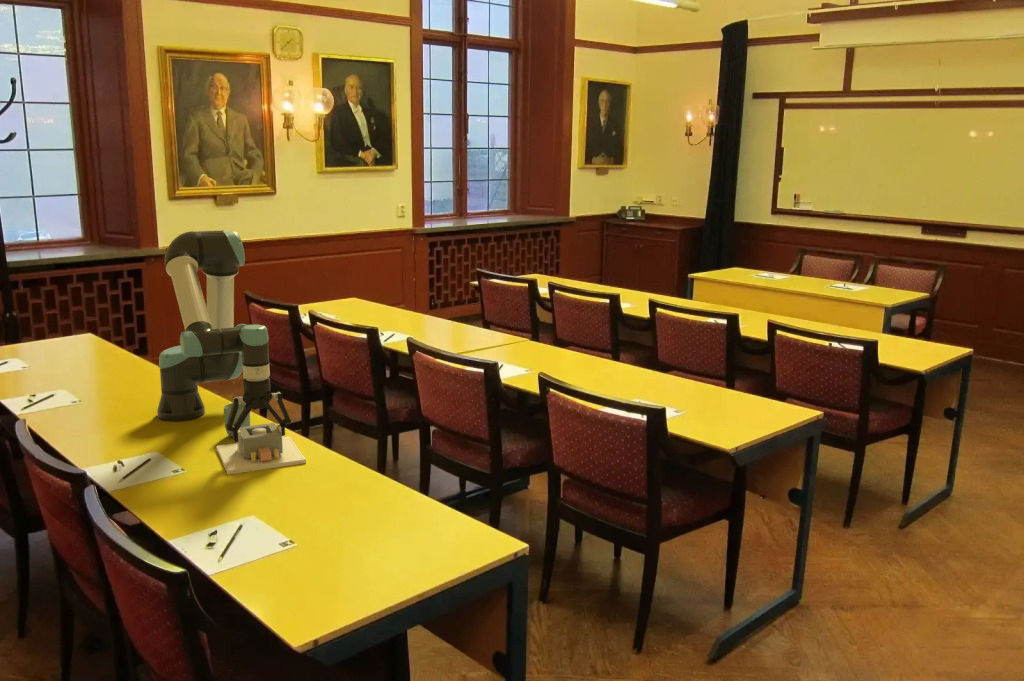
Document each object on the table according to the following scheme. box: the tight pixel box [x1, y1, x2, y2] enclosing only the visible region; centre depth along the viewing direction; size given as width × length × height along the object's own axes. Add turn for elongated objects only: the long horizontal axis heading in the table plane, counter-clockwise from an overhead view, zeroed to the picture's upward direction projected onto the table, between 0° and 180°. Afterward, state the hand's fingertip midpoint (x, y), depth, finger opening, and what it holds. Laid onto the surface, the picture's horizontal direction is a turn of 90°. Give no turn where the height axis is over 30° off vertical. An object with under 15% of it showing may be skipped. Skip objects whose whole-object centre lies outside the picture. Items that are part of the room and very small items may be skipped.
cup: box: [223, 402, 252, 438], centre depth 265 cm, size 8×8×10 cm
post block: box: [216, 428, 307, 476], centre depth 249 cm, size 22×22×8 cm
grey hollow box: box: [239, 422, 283, 461], centre depth 247 cm, size 15×11×6 cm
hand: (260, 449), depth 249 cm, fingers closed on grey hollow box, 11 cm apart
